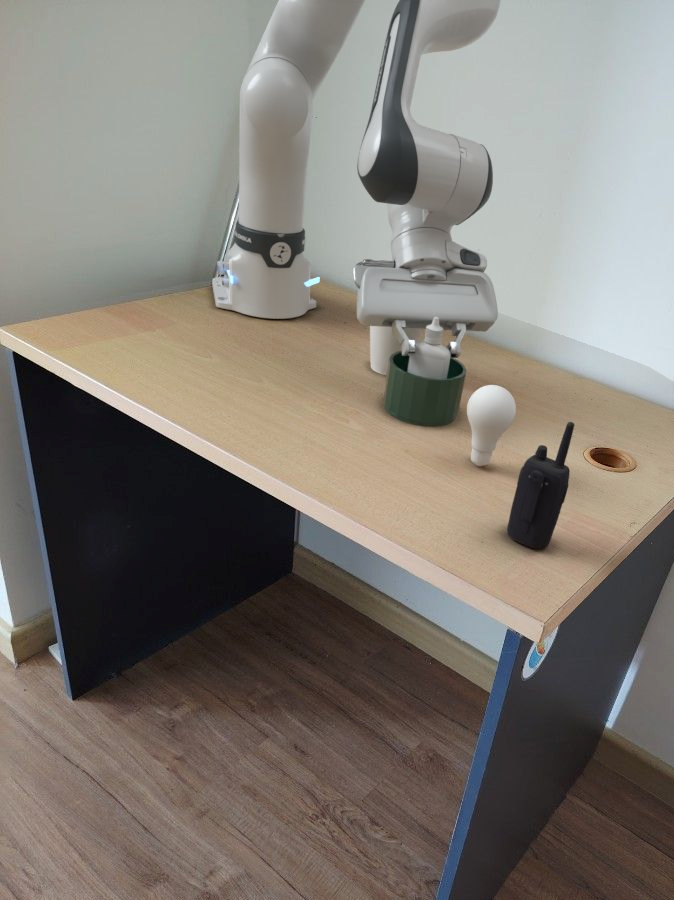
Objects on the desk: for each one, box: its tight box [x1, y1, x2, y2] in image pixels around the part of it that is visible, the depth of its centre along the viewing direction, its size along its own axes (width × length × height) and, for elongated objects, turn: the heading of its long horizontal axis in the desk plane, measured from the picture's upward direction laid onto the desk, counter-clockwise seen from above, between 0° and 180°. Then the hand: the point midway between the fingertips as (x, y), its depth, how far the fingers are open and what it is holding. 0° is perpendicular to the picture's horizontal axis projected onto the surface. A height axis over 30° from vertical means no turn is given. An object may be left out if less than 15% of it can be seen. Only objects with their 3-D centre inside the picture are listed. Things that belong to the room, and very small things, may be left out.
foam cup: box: [369, 326, 422, 376], centre depth 119 cm, size 10×9×13 cm
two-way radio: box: [506, 421, 575, 550], centre depth 81 cm, size 6×4×15 cm
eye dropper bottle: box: [407, 317, 451, 379], centre depth 107 cm, size 4×6×12 cm
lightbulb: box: [466, 384, 517, 468], centre depth 96 cm, size 6×6×11 cm
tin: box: [382, 351, 468, 427], centre depth 109 cm, size 11×11×7 cm
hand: (432, 355), depth 106 cm, fingers closed on eye dropper bottle, 5 cm apart
